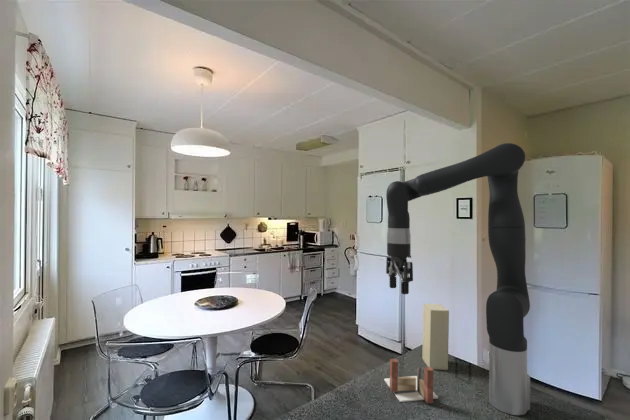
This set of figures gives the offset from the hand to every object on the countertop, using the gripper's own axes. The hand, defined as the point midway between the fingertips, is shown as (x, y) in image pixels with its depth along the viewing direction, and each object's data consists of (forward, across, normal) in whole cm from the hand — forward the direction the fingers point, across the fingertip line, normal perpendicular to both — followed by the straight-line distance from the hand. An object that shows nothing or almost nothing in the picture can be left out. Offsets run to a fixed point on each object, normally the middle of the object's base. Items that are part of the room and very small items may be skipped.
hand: (398, 290), depth 100 cm
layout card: (+29, -5, -1) cm, 30 cm away
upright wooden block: (+30, +8, -18) cm, 36 cm away
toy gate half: (+28, -7, +2) cm, 29 cm away
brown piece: (+29, -10, -3) cm, 31 cm away
